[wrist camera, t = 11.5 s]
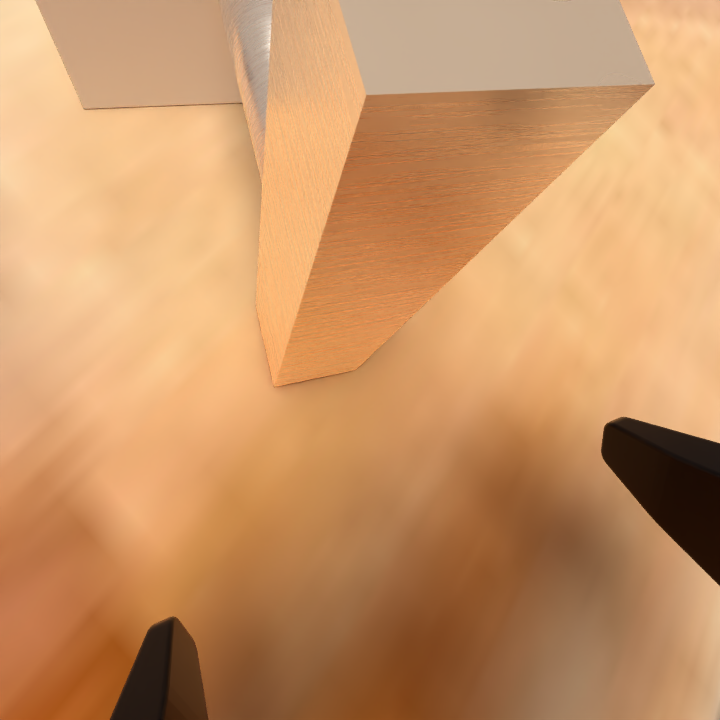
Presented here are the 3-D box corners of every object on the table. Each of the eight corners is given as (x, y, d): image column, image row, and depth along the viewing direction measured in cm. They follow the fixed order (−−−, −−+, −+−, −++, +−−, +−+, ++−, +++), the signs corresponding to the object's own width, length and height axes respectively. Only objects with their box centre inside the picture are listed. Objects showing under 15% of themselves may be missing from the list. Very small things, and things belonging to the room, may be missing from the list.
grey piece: (355, 369, 17) (654, 84, 4) (273, 387, 16) (366, 95, 4) (267, 27, 19) (303, -743, 7) (192, 27, 19) (88, -847, 6)
